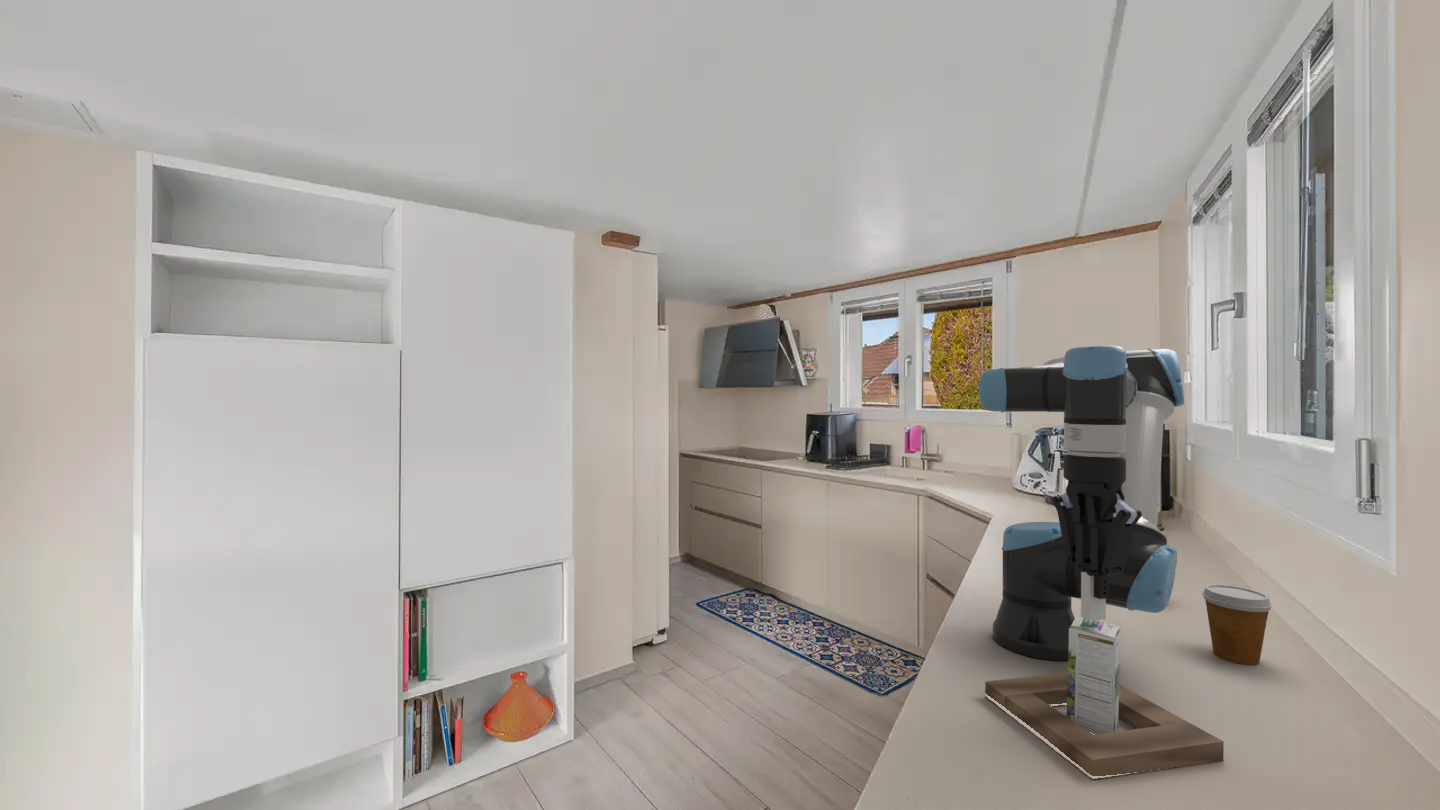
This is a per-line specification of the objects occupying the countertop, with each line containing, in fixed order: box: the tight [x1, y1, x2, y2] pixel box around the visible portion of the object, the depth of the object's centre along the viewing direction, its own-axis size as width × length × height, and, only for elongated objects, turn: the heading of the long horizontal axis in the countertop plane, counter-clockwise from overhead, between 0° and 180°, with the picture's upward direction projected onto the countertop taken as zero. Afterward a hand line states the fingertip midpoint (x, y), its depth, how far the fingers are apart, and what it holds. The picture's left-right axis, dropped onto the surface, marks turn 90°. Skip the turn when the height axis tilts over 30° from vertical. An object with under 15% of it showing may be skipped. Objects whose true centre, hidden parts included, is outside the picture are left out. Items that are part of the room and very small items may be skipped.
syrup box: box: [1066, 616, 1121, 734], centre depth 81 cm, size 6×6×14 cm
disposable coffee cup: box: [1201, 584, 1273, 666], centre depth 104 cm, size 10×10×12 cm
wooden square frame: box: [984, 672, 1225, 776], centre depth 81 cm, size 20×20×2 cm
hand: (1093, 618), depth 81 cm, fingers closed
